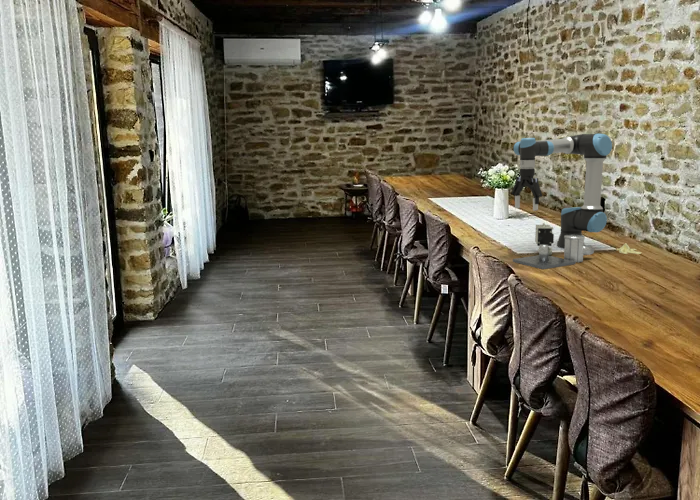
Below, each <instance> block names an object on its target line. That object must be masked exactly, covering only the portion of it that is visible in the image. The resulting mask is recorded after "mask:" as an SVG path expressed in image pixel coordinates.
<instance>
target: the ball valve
mask: <svg viewBox="0 0 700 500" xmlns="http://www.w3.org/2000/svg"><path fill="white" fill-rule="evenodd" d="M554 228H555V227H553V226H551V225H550V224H545V223H542V224H536V225H535V234H534V235H535V241H534V242H535V244H536V245H537V247H540V244H547V245H548V255H549V256H553V248H552V244H554V243H555V241H554V240H555V239H554V238H555V234H554V233H553V230H554ZM537 252H538V253H539V248H538V249H537Z"/></svg>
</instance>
